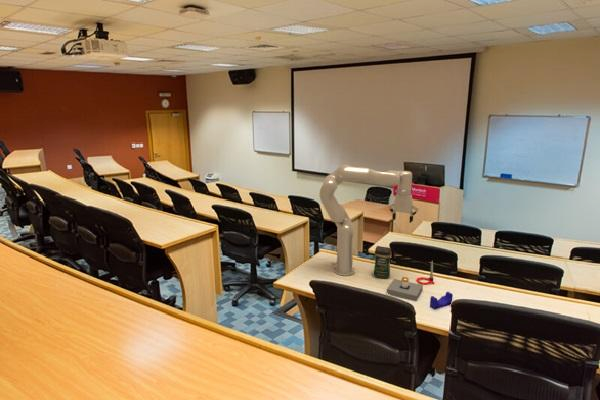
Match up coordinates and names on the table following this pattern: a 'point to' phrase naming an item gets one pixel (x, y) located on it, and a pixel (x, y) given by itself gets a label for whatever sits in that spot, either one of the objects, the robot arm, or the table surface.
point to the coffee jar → (382, 262)
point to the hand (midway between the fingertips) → (402, 220)
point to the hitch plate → (410, 294)
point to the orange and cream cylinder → (405, 283)
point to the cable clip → (441, 301)
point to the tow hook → (427, 278)
